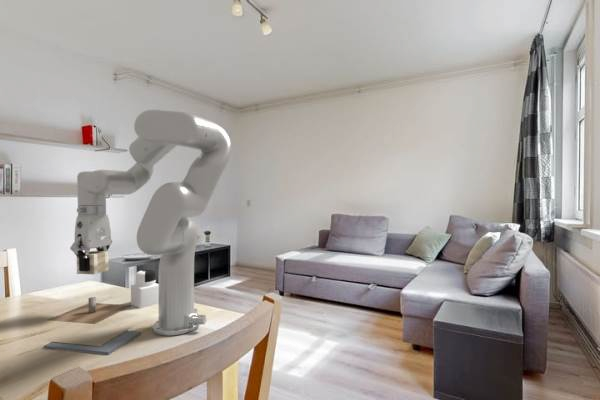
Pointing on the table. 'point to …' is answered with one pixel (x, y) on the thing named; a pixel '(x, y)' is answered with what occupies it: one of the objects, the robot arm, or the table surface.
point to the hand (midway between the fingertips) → (93, 268)
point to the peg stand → (90, 312)
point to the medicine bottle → (145, 289)
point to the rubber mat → (102, 349)
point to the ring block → (96, 262)
